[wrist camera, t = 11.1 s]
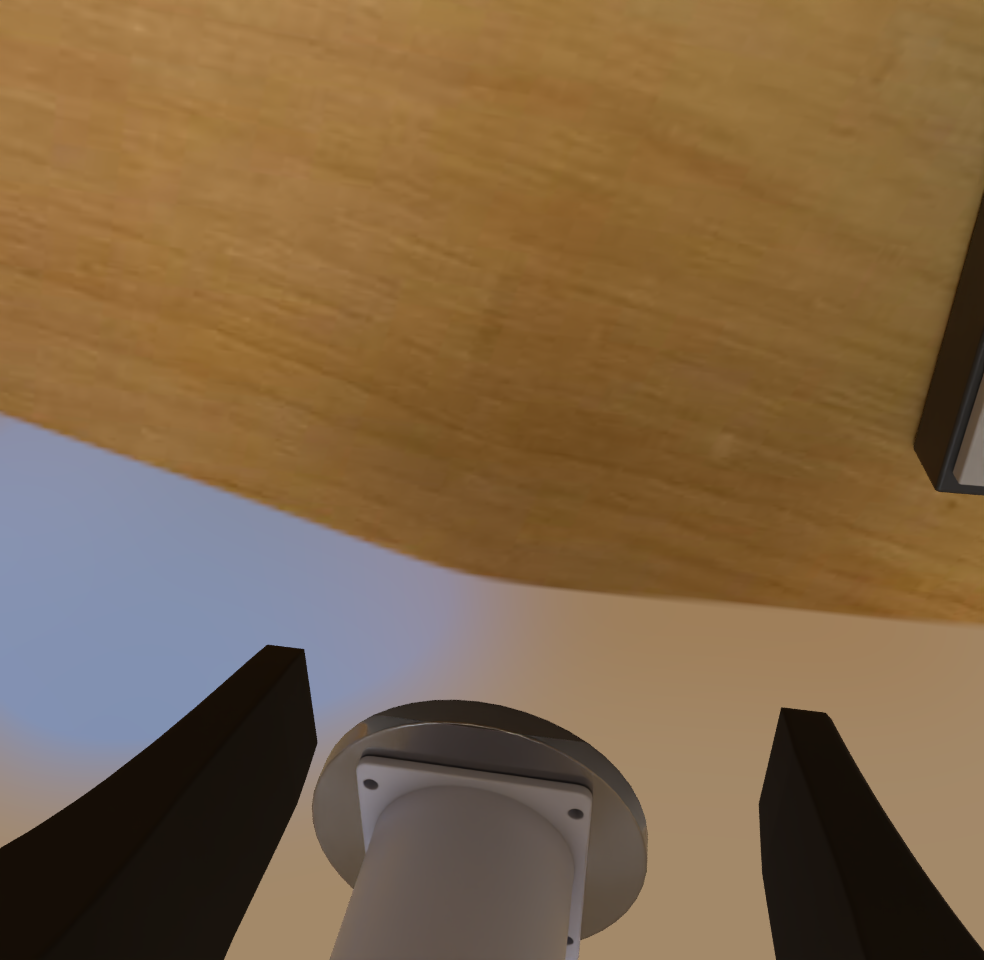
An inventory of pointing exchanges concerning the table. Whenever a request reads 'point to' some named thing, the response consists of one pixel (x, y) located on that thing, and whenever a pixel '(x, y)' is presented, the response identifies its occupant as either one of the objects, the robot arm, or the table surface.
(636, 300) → the table surface
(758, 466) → the table surface
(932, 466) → the scale
